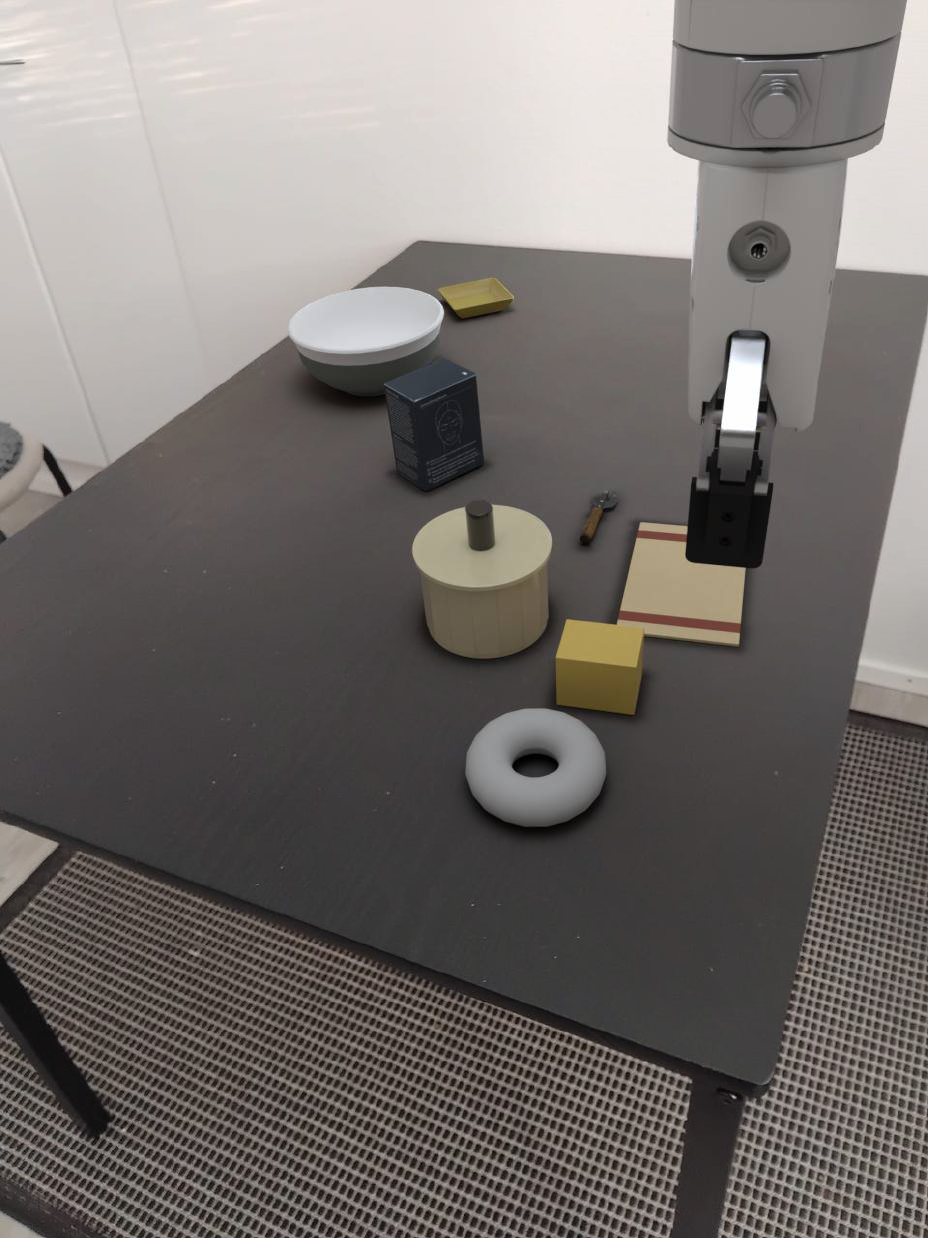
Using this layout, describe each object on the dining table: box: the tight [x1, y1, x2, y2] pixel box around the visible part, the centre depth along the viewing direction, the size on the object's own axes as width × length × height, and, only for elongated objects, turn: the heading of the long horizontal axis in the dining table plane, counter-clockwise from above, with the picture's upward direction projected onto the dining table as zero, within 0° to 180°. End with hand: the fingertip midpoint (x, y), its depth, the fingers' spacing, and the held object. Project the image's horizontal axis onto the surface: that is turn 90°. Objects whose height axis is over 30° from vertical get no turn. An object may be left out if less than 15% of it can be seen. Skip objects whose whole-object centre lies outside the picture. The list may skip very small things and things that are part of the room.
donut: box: [464, 707, 607, 828], centre depth 69 cm, size 10×4×10 cm
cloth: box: [616, 521, 747, 648], centre depth 86 cm, size 10×16×1 cm, turn 165°
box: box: [384, 357, 485, 492], centre depth 100 cm, size 8×6×11 cm
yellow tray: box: [437, 277, 515, 319], centre depth 135 cm, size 9×9×2 cm
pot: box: [419, 562, 550, 660], centre depth 82 cm, size 10×10×7 cm
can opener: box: [579, 489, 618, 545], centre depth 94 cm, size 9×2×1 cm, turn 154°
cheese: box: [555, 619, 645, 716], centre depth 75 cm, size 6×4×5 cm
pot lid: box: [411, 499, 553, 592], centre depth 79 cm, size 11×11×5 cm
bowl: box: [287, 286, 445, 397], centre depth 119 cm, size 19×19×8 cm
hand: (730, 499), depth 46 cm, fingers open, 9 cm apart
